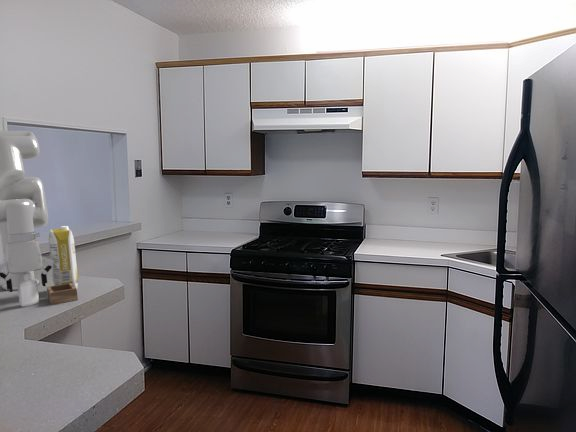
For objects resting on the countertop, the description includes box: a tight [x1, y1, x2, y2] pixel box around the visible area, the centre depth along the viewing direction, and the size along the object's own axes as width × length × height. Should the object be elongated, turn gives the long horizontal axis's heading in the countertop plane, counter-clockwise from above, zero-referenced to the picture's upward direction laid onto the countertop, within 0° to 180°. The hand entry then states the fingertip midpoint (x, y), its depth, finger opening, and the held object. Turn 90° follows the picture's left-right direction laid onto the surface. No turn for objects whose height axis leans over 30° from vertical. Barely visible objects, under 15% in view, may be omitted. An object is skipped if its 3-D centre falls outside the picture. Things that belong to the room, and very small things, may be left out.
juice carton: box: [48, 225, 79, 289], centre depth 169 cm, size 9×8×24 cm
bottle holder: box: [46, 283, 79, 306], centre depth 160 cm, size 10×8×4 cm
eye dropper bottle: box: [17, 272, 40, 308], centre depth 155 cm, size 4×6×12 cm
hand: (27, 288), depth 154 cm, fingers open, 9 cm apart
